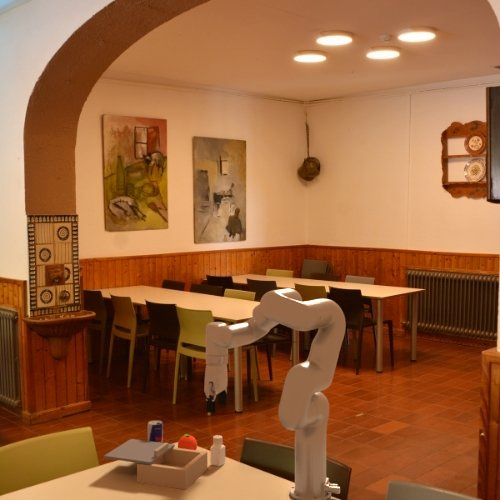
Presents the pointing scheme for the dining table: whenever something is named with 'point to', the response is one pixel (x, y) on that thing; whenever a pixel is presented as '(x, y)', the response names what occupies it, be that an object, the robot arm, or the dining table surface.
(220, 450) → the pepper shaker
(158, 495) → the dining table surface
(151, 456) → the box lid
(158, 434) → the energy drink
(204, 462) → the mailer box
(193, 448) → the clementine
